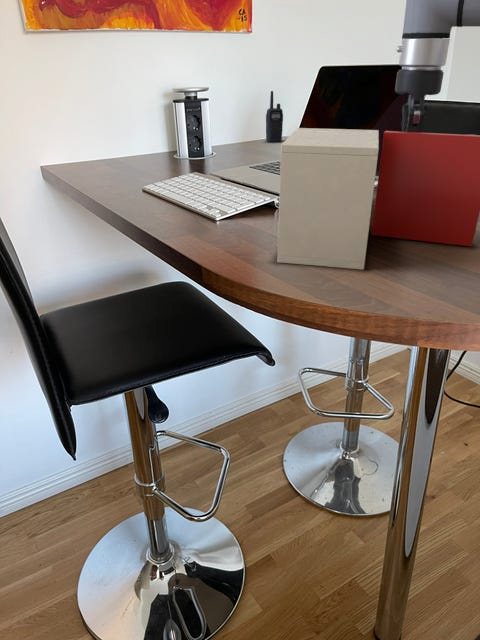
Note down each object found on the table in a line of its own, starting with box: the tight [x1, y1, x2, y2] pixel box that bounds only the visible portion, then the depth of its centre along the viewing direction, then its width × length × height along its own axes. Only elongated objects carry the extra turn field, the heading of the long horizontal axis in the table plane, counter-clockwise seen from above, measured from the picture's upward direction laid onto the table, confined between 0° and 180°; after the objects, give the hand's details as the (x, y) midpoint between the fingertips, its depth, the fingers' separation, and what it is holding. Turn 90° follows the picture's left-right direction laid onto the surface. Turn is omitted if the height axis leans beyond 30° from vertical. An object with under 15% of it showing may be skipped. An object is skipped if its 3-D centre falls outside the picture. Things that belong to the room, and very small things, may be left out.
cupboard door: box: [370, 130, 480, 247], centre depth 77 cm, size 7×15×16 cm, turn 68°
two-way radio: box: [265, 90, 284, 143], centre depth 157 cm, size 6×4×15 cm
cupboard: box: [276, 127, 380, 271], centre depth 72 cm, size 12×15×16 cm
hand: (400, 202), depth 95 cm, fingers open, 7 cm apart
